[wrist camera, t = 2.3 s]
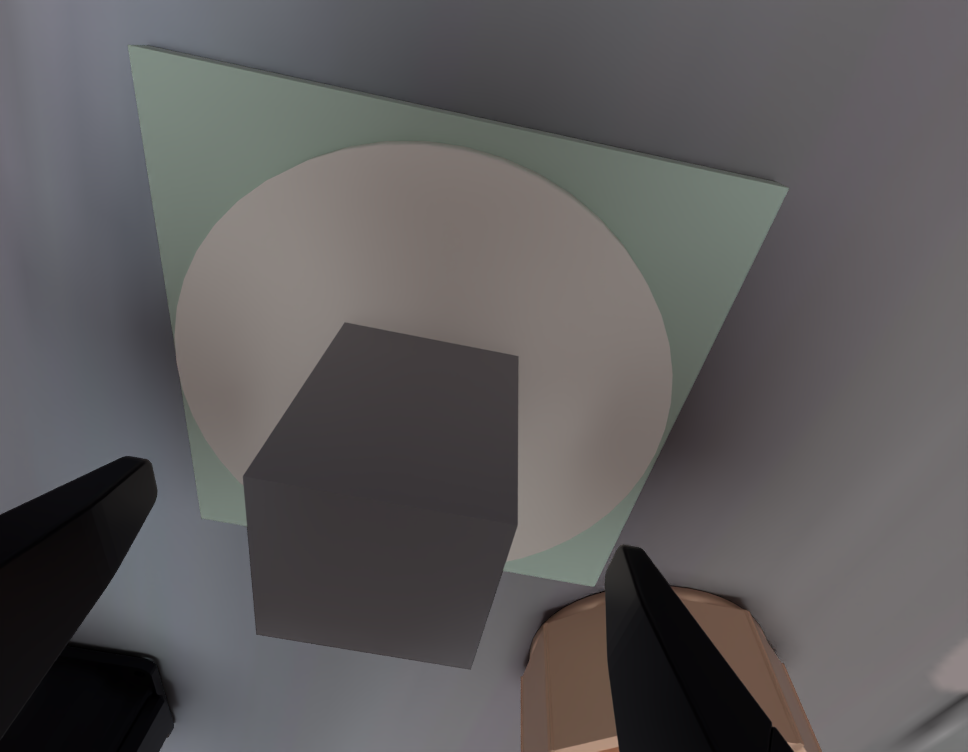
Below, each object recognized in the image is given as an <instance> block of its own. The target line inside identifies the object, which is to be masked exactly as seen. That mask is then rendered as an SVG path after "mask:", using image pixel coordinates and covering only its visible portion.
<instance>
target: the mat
mask: <svg viewBox="0 0 968 752" xmlns="http://www.w3.org/2000/svg"><path fill="white" fill-rule="evenodd" d="M128 51H129V57H130V63H131V70H132V76H133V83H134V89H135V96H136V102H137V108H138V115H139V121H140V128H141V134H142V141H143V147H144V153H145V160H146V166H147V173H148V179H149V186H150V192H151V198H152V205H153V211H154V218H155V224H156V231H157V237H158V243H159V250H160V256H161V263H162V269H163V276H164V282H165V288H166V295H167V301H168V308H169V314H170V321H171V327H172V333H173V340H174V346H175V336H174V335H175V323H176V310H177V304H178V300H179V296H180V292H181V288H182V285H183V281H184V278H185V275H186V273H187V271H188V269H189V267H190V264H191V262H192V260H193V258H194V255H195V253H196V251H197V250H198V248H199V247H200V245H201V244H202V242H203V241H204V239H205V238H206V236H207V235H208V233H209V232H210V231H211V229H212V228H213V226H214V225H215V224H216V223H217V222H218V221H219V220H220V219H221V218H222V217H223V216H224V215H225V214H226V213H227V212H228V210H229V209H230V208H231V207H232V206H233V205H234V204H235V203H236V202H237V201H239V200H240V199H241V198H243V197H244V196H246V195H247V194H248V193H250V192H251V191H252V190H254V189H255V188H257V187H258V186H259V185H261V184H262V183H264V182H265V181H266V180H268V179H270V178H272V177H275V176H277V175H279V174H281V173H283V172H285V171H287V170H289V169H291V168H293V167H295V166H297V165H299V164H301V163H303V162H305V161H307V160H309V159H311V158H313V157H316V156H320V155H323V154H326V153H329V152H333V151H336V150H339V149H342V148H345V147H349V146H355V145H362V144H369V143H376V142H382V141H430V142H437V143H444V144H451V145H458V146H465V147H469V148H472V149H475V150H479V151H482V152H486V153H489V154H493V155H496V156H500V157H503V158H505V159H508V160H510V161H512V162H514V163H517V164H519V165H521V166H523V167H525V168H528V169H530V170H532V171H534V172H537V173H539V174H540V175H542V176H544V177H545V178H547V179H548V180H550V181H552V182H553V183H555V184H556V185H558V186H560V187H561V188H563V189H564V190H566V191H568V192H569V193H571V194H572V195H573V196H574V197H575V198H577V199H578V200H579V201H580V202H581V203H583V204H584V205H585V206H586V207H587V208H589V209H590V210H591V211H592V212H593V213H594V214H596V215H597V216H598V217H599V218H600V219H601V220H602V221H603V222H604V224H605V225H606V226H607V227H608V228H609V229H610V230H611V231H612V233H613V234H614V235H615V236H616V237H617V238H618V239H619V241H620V242H621V243H622V244H623V246H624V247H625V249H626V250H627V252H628V253H629V255H630V256H631V258H632V259H633V261H634V262H635V264H636V266H637V267H638V269H639V270H640V272H641V273H642V275H643V277H644V279H645V281H646V282H647V284H648V286H649V288H650V291H651V293H652V295H653V297H654V299H655V302H656V304H657V306H658V308H659V311H660V313H661V315H662V319H663V322H664V326H665V330H666V333H667V337H668V341H669V345H670V353H671V363H672V373H673V378H672V395H671V405H670V410H669V414H668V419H667V423H666V428H665V431H664V433H663V436H662V438H661V441H660V443H659V446H658V449H657V451H656V454H655V455H654V457H653V459H652V460H651V462H650V464H649V466H648V467H647V469H646V471H645V473H644V474H643V476H642V477H641V478H640V480H639V481H638V482H637V484H636V485H635V486H634V487H633V489H632V490H631V491H630V493H629V494H628V495H627V496H626V497H625V498H624V499H623V500H622V501H621V502H620V503H619V504H618V505H617V506H616V507H615V508H614V509H613V510H612V511H611V512H610V513H608V514H607V515H606V516H604V517H603V518H602V519H600V520H599V521H598V522H597V523H595V524H594V525H593V526H591V527H590V528H588V529H587V530H585V531H583V532H581V533H580V534H578V535H576V536H575V537H573V538H571V539H570V540H568V541H566V542H563V543H561V544H559V545H557V546H554V547H552V548H550V549H548V550H545V551H542V552H539V553H536V554H533V555H530V556H527V557H524V558H521V559H516V560H512V561H508V562H506V563H505V566H504V569H503V571H506V572H512V573H518V574H523V575H529V576H535V577H541V578H546V579H552V580H558V581H564V582H569V583H575V584H581V585H587V586H592V587H594V586H595V584H596V582H597V580H598V578H599V576H600V574H601V572H602V570H603V568H604V566H605V564H606V562H607V560H608V558H609V556H610V553H611V551H612V549H613V547H614V545H615V543H616V541H617V539H618V537H619V535H620V533H621V531H622V529H623V527H624V525H625V523H626V521H627V519H628V517H629V515H630V513H631V511H632V509H633V506H634V504H635V502H636V500H637V498H638V496H639V494H640V492H641V490H642V488H643V486H644V484H645V482H646V480H647V478H648V476H649V474H650V472H651V470H652V468H653V466H654V464H655V462H656V460H657V457H658V455H659V453H660V451H661V449H662V447H663V445H664V443H665V441H666V439H667V437H668V435H669V433H670V431H671V429H672V427H673V425H674V423H675V421H676V419H677V417H678V415H679V413H680V410H681V408H682V406H683V404H684V402H685V400H686V398H687V396H688V394H689V392H690V390H691V388H692V386H693V384H694V382H695V380H696V378H697V376H698V374H699V372H700V370H701V368H702V366H703V363H704V361H705V359H706V357H707V355H708V353H709V351H710V349H711V347H712V345H713V343H714V341H715V339H716V337H717V335H718V333H719V331H720V329H721V327H722V325H723V323H724V321H725V319H726V317H727V314H728V312H729V310H730V308H731V306H732V304H733V302H734V300H735V298H736V296H737V294H738V292H739V290H740V288H741V286H742V284H743V282H744V280H745V278H746V276H747V274H748V272H749V270H750V267H751V265H752V263H753V261H754V259H755V257H756V255H757V253H758V251H759V249H760V247H761V245H762V243H763V241H764V239H765V237H766V235H767V233H768V231H769V229H770V227H771V225H772V223H773V220H774V218H775V216H776V214H777V212H778V210H779V208H780V206H781V204H782V202H783V200H784V198H785V196H786V194H787V192H788V190H789V188H788V187H786V186H784V185H782V184H779V183H777V182H774V181H769V180H765V179H760V178H756V177H751V176H746V175H742V174H737V173H733V172H728V171H723V170H719V169H714V168H709V167H705V166H700V165H696V164H691V163H686V162H682V161H677V160H673V159H668V158H663V157H659V156H654V155H650V154H645V153H640V152H636V151H631V150H627V149H622V148H617V147H613V146H608V145H604V144H599V143H594V142H590V141H585V140H581V139H576V138H571V137H567V136H562V135H558V134H553V133H548V132H544V131H539V130H535V129H530V128H525V127H521V126H516V125H512V124H507V123H502V122H498V121H493V120H489V119H484V118H479V117H475V116H470V115H466V114H461V113H456V112H452V111H447V110H443V109H438V108H433V107H429V106H424V105H419V104H415V103H410V102H406V101H401V100H396V99H392V98H387V97H383V96H378V95H373V94H369V93H364V92H360V91H355V90H350V89H346V88H341V87H337V86H332V85H327V84H323V83H318V82H314V81H309V80H304V79H300V78H295V77H291V76H286V75H281V74H277V73H272V72H268V71H263V70H258V69H254V68H249V67H245V66H240V65H235V64H231V63H226V62H222V61H217V60H212V59H208V58H203V57H199V56H194V55H189V54H185V53H180V52H176V51H171V50H166V49H162V48H157V47H152V46H148V45H128ZM175 353H176V349H175ZM178 372H179V371H178ZM179 378H180V376H179ZM180 385H181V391H182V398H183V404H184V411H185V417H186V423H187V430H188V436H189V443H190V449H191V456H192V462H193V468H194V475H195V481H196V488H197V494H198V501H199V507H200V513H201V518H202V519H207V520H213V521H219V522H225V523H230V524H236V525H242V526H247V520H246V509H245V497H244V486H243V485H242V484H241V483H240V482H239V481H238V480H237V479H236V478H235V477H234V476H233V475H232V474H231V472H230V471H229V470H228V469H227V468H226V467H225V466H224V464H223V463H222V462H221V461H220V460H219V458H218V457H217V455H216V454H215V452H214V451H213V450H212V448H211V447H210V445H209V444H208V442H207V441H206V440H205V438H204V436H203V434H202V432H201V430H200V429H199V427H198V425H197V423H196V421H195V419H194V417H193V415H192V413H191V410H190V408H189V405H188V402H187V400H186V397H185V395H184V392H183V389H182V384H181V380H180Z"/></svg>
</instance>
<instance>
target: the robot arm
mask: <svg viewBox="0 0 968 752" xmlns="http://www.w3.org/2000/svg"><path fill="white" fill-rule="evenodd" d="M156 498H157V486H156V481H155V476H154V471H153V467H152V463H151V462H150V461H149V460H147V459H143V458H138V457H132V456H125V457H122V458H119V459H117V460H115V461H113V462H111V463H109V464H107V465H104V466H102V467H100V468H98V469H96V470H94V471H92V472H90V473H88V474H85V475H83V476H81V477H79V478H77V479H75V480H73V481H71V482H68V483H66V484H64V485H62V486H60V487H58V488H56V489H54V490H52V491H49V492H47V493H45V494H43V495H41V496H39V497H37V498H35V499H32V500H30V501H28V502H26V503H24V504H22V505H20V506H18V507H16V508H13V509H11V510H9V511H7V512H5V513H3V514H1V515H0V752H159V751H160V749H161V747H162V745H163V743H164V741H165V739H166V738H167V737H169V736H170V734H171V732H172V730H173V728H174V724H173V720H172V717H171V713H170V710H169V706H168V703H167V699H166V696H165V692H164V689H163V685H162V682H161V678H160V675H159V671H158V668H157V666H156V664H155V663H153V662H152V661H150V660H147V659H143V658H137V657H131V656H125V655H118V654H112V653H106V652H100V651H93V650H87V649H81V648H75V647H68V646H66V645H67V643H68V642H69V641H70V639H71V638H72V636H73V635H74V633H75V632H76V631H77V629H78V628H79V626H80V625H81V623H82V622H83V621H84V619H85V618H86V616H87V615H88V613H89V612H90V610H91V609H92V608H93V606H94V605H95V603H96V602H97V600H98V599H99V598H100V596H101V595H102V593H103V592H104V590H105V589H106V587H107V586H108V584H109V583H110V581H111V580H112V578H113V577H114V575H115V573H116V572H117V570H118V568H119V567H120V565H121V563H122V561H123V559H124V558H125V556H126V554H127V552H128V550H129V549H130V547H131V545H132V543H133V541H134V540H135V538H136V536H137V534H138V532H139V531H140V529H141V527H142V525H143V523H144V522H145V520H146V518H147V516H148V514H149V513H150V511H151V509H152V507H153V505H154V503H155V501H156ZM605 605H606V642H607V662H608V672H609V680H610V687H611V694H612V702H613V709H614V717H615V724H616V731H617V739H618V746H619V752H794V751H793V749H792V748H791V747H790V745H789V744H788V743H787V741H786V740H785V739H784V737H783V736H782V735H781V733H780V732H779V731H778V729H777V728H776V727H772V722H771V720H770V719H769V717H768V716H767V715H766V713H765V712H764V711H763V709H762V708H761V707H760V705H759V704H758V703H757V701H756V700H755V699H754V697H753V696H752V695H751V693H750V692H749V691H748V689H747V688H746V687H745V685H744V684H743V683H742V681H741V680H740V679H739V677H738V676H737V675H736V673H735V672H734V671H733V669H732V668H731V667H730V665H729V664H728V663H727V661H726V660H725V659H724V657H723V656H722V655H721V653H720V652H719V650H718V649H717V648H716V646H715V645H714V644H713V642H712V641H711V640H710V638H709V637H708V636H707V634H706V633H705V632H704V630H703V629H702V628H701V626H700V625H699V624H698V622H697V621H696V620H695V618H694V617H693V616H692V614H691V613H690V612H689V610H688V609H687V608H686V606H685V605H684V604H683V602H682V601H681V600H680V598H679V597H678V596H677V594H676V593H675V592H674V590H673V589H672V588H671V586H670V585H669V583H668V582H667V581H666V579H665V578H664V577H663V575H662V574H661V573H660V571H659V570H658V569H657V567H656V566H655V565H654V563H653V562H652V561H651V559H650V558H649V557H648V555H647V554H646V553H645V551H644V550H642V549H641V548H639V547H635V546H629V545H620V546H619V547H618V549H617V551H616V553H615V555H614V557H613V559H612V561H611V563H610V565H609V567H608V569H607V571H606V576H605Z"/></svg>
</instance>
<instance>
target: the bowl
mask: <svg viewBox="0 0 968 752" xmlns="http://www.w3.org/2000/svg"><path fill="white" fill-rule="evenodd" d="M671 588H672V589H673V590H674V592H675V593H676V594H677V596H678V597H679V598H680V600H681V601H682V602H683V604H684V605H685V606H686V608H687V609H688V610H689V612H690V613H691V614H692V616H693V617H694V618H695V620H696V621H697V622H698V624H699V625H700V626H701V628H702V629H703V630H704V632H705V633H706V634H707V636H708V637H709V638H710V640H711V641H712V642H713V644H714V645H715V646H716V648H717V649H718V650H719V652H720V653H721V655H722V656H723V657H724V659H725V660H726V661H727V663H728V664H729V665H730V667H731V668H732V669H733V671H734V672H735V673H736V675H737V676H738V677H739V679H740V680H741V681H742V683H743V684H744V685H745V687H746V688H747V689H748V691H749V692H750V693H751V695H752V696H753V697H754V699H755V700H756V701H757V703H758V704H759V705H760V707H761V708H762V709H763V711H764V712H765V713H766V715H767V716H768V717H769V719H770V720H771V722H772V727H776V728H777V729H778V731H779V732H780V733H781V735H782V736H783V737H784V739H785V740H786V741H787V743H788V744H789V745H790V747H791V748H792V749H793V751H794V752H822V750H821V748H820V746H819V743H818V741H817V739H816V737H815V734H814V732H813V730H812V727H811V725H810V723H809V720H808V718H807V716H806V714H805V711H804V709H803V707H802V704H801V702H800V700H799V697H798V695H797V693H796V691H795V688H794V686H793V684H792V681H791V679H790V677H789V674H788V672H787V670H786V668H785V665H784V663H781V662H780V660H779V658H778V657H777V655H776V654H775V652H774V651H773V649H772V648H771V646H770V645H769V643H768V642H767V639H766V637H765V635H764V633H763V631H762V629H761V627H760V625H759V624H758V623H757V621H756V620H755V619H754V618H753V617H752V616H751V614H750V612H749V611H747V610H744V609H742V608H741V607H739V606H737V605H736V604H734V603H732V602H730V601H728V600H726V599H724V598H721V597H719V596H716V595H713V594H710V593H707V592H703V591H698V590H694V589H689V588H681V587H673V586H671ZM521 752H619V746H618V739H617V731H616V724H615V717H614V709H613V702H612V694H611V687H610V680H609V672H608V662H607V642H606V605H605V592H602V593H599V594H595V595H592V596H589V597H586V598H584V599H581V600H579V601H576V602H574V603H572V604H570V605H568V606H566V607H565V608H563V609H561V610H560V611H558V612H557V613H555V614H554V615H553V616H551V617H550V618H549V619H548V620H547V621H546V622H545V623H544V624H543V625H542V626H541V627H540V629H539V630H538V631H537V633H536V635H535V636H534V638H533V640H532V644H531V647H530V660H529V663H528V665H527V667H526V670H525V672H524V674H523V676H521Z"/></svg>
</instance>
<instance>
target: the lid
mask: <svg viewBox="0 0 968 752" xmlns="http://www.w3.org/2000/svg"><path fill="white" fill-rule="evenodd" d="M174 336H175V349H176V362H177V367H178V371H179V376H180V380H181V384H182V389H183V392H184V395H185V397H186V400H187V402H188V405H189V408H190V410H191V413H192V415H193V417H194V419H195V421H196V423H197V425H198V427H199V429H200V430H201V432H202V434H203V436H204V438H205V440H206V441H207V442H208V444H209V445H210V447H211V448H212V450H213V451H214V452H215V454H216V455H217V457H218V458H219V460H220V461H221V462H222V463H223V464H224V466H225V467H226V468H227V469H228V470H229V471H230V472H231V474H232V475H233V476H234V477H235V478H236V479H237V480H238V481H239V482H240V483H241V484H242V485H243V486H244V497H245V509H246V520H247V532H248V543H249V555H250V566H251V578H252V589H253V601H254V612H255V624H256V635H262V636H268V637H275V638H281V639H287V640H293V641H299V642H305V643H311V644H317V645H323V646H329V647H336V648H342V649H348V650H354V651H360V652H366V653H372V654H378V655H384V656H391V657H397V658H403V659H409V660H415V661H421V662H427V663H433V664H439V665H445V666H452V667H458V668H464V669H470V670H471V667H472V664H473V661H474V658H475V655H476V652H477V649H478V646H479V643H480V640H481V636H482V633H483V630H484V627H485V624H486V621H487V618H488V615H489V612H490V609H491V606H492V603H493V600H494V597H495V594H496V591H497V587H498V584H499V581H500V578H501V575H502V572H503V569H504V566H505V563H506V562H508V561H512V560H516V559H521V558H524V557H527V556H530V555H533V554H536V553H539V552H542V551H545V550H548V549H550V548H552V547H554V546H557V545H559V544H561V543H563V542H566V541H568V540H570V539H571V538H573V537H575V536H576V535H578V534H580V533H581V532H583V531H585V530H587V529H588V528H590V527H591V526H593V525H594V524H595V523H597V522H598V521H599V520H600V519H602V518H603V517H604V516H606V515H607V514H608V513H610V512H611V511H612V510H613V509H614V508H615V507H616V506H617V505H618V504H619V503H620V502H621V501H622V500H623V499H624V498H625V497H626V496H627V495H628V494H629V493H630V491H631V490H632V489H633V487H634V486H635V485H636V484H637V482H638V481H639V480H640V478H641V477H642V476H643V474H644V473H645V471H646V469H647V467H648V466H649V464H650V462H651V460H652V459H653V457H654V455H655V454H656V451H657V449H658V446H659V443H660V441H661V438H662V436H663V433H664V431H665V428H666V423H667V419H668V414H669V410H670V405H671V395H672V378H673V373H672V363H671V353H670V345H669V341H668V337H667V333H666V330H665V326H664V322H663V319H662V315H661V313H660V311H659V308H658V306H657V304H656V302H655V299H654V297H653V295H652V293H651V291H650V288H649V286H648V284H647V282H646V281H645V279H644V277H643V275H642V273H641V272H640V270H639V269H638V267H637V266H636V264H635V262H634V261H633V259H632V258H631V256H630V255H629V253H628V252H627V250H626V249H625V247H624V246H623V244H622V243H621V242H620V241H619V239H618V238H617V237H616V236H615V235H614V234H613V233H612V231H611V230H610V229H609V228H608V227H607V226H606V225H605V224H604V222H603V221H602V220H601V219H600V218H599V217H598V216H597V215H596V214H594V213H593V212H592V211H591V210H590V209H589V208H587V207H586V206H585V205H584V204H583V203H581V202H580V201H579V200H578V199H577V198H575V197H574V196H573V195H572V194H571V193H569V192H568V191H566V190H564V189H563V188H561V187H560V186H558V185H556V184H555V183H553V182H552V181H550V180H548V179H547V178H545V177H544V176H542V175H540V174H539V173H537V172H534V171H532V170H530V169H528V168H525V167H523V166H521V165H519V164H517V163H514V162H512V161H510V160H508V159H505V158H503V157H500V156H496V155H493V154H489V153H486V152H482V151H479V150H475V149H472V148H469V147H465V146H458V145H451V144H444V143H437V142H430V141H382V142H376V143H369V144H362V145H355V146H349V147H345V148H342V149H339V150H336V151H333V152H329V153H326V154H323V155H320V156H316V157H313V158H311V159H309V160H307V161H305V162H303V163H301V164H299V165H297V166H295V167H293V168H291V169H289V170H287V171H285V172H283V173H281V174H279V175H277V176H275V177H272V178H270V179H268V180H266V181H265V182H264V183H262V184H261V185H259V186H258V187H257V188H255V189H254V190H252V191H251V192H250V193H248V194H247V195H246V196H244V197H243V198H241V199H240V200H239V201H237V202H236V203H235V204H234V205H233V206H232V207H231V208H230V209H229V210H228V212H227V213H226V214H225V215H224V216H223V217H222V218H221V219H220V220H219V221H218V222H217V223H216V224H215V225H214V226H213V228H212V229H211V231H210V232H209V233H208V235H207V236H206V238H205V239H204V241H203V242H202V244H201V245H200V247H199V248H198V250H197V251H196V253H195V255H194V258H193V260H192V262H191V264H190V267H189V269H188V271H187V273H186V275H185V278H184V281H183V285H182V288H181V292H180V296H179V300H178V304H177V310H176V323H175V335H174Z"/></svg>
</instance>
